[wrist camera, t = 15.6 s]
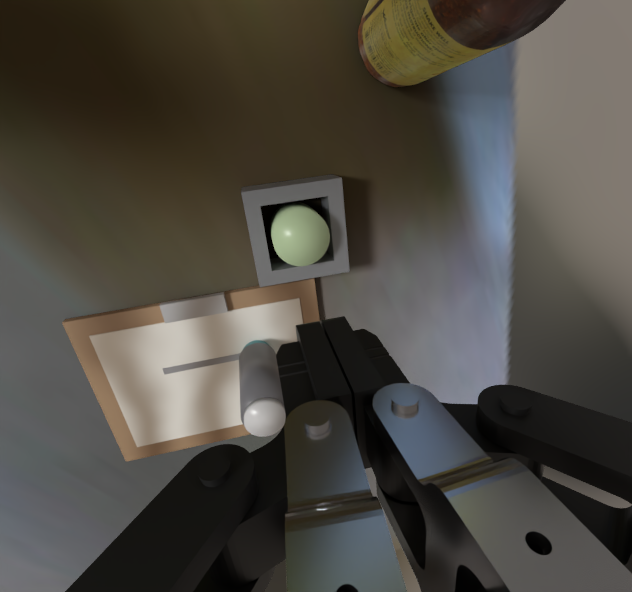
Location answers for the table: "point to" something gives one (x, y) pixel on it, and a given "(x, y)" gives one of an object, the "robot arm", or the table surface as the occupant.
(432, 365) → the table surface
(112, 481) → the table surface
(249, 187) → the button housing
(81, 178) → the table surface
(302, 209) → the button
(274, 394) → the cylinder
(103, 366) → the clipboard
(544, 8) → the sauce bottle
